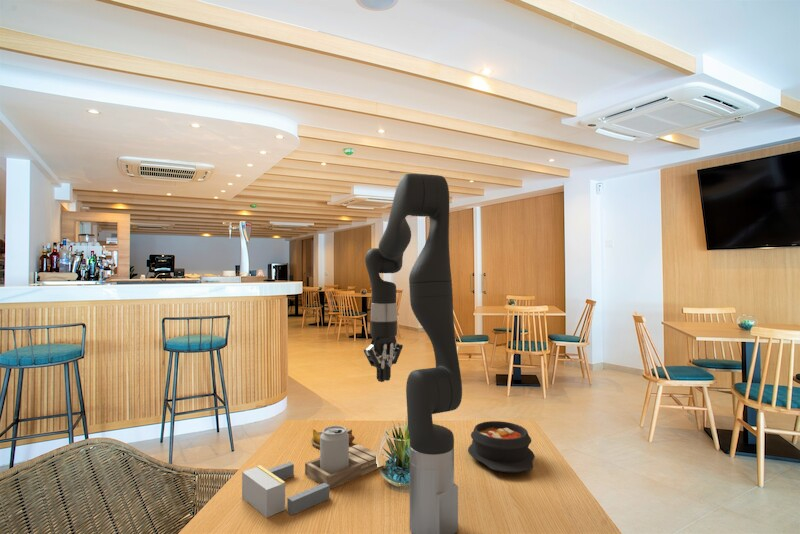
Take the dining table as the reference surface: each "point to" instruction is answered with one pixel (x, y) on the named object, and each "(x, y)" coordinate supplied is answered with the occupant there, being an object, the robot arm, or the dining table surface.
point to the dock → (278, 490)
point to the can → (334, 449)
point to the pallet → (359, 465)
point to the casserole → (502, 446)
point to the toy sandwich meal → (316, 435)
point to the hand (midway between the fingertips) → (383, 380)
